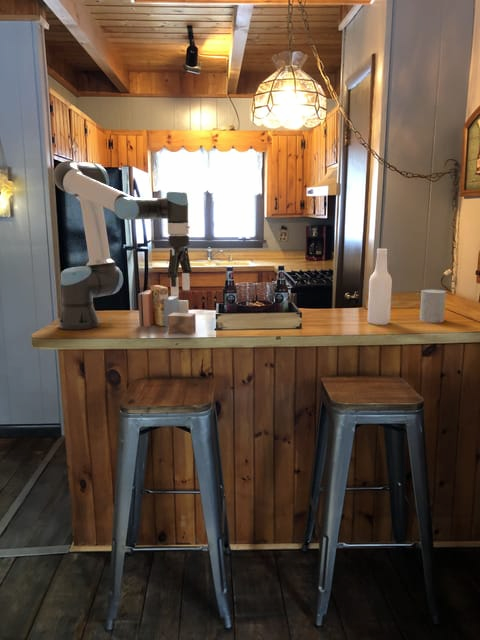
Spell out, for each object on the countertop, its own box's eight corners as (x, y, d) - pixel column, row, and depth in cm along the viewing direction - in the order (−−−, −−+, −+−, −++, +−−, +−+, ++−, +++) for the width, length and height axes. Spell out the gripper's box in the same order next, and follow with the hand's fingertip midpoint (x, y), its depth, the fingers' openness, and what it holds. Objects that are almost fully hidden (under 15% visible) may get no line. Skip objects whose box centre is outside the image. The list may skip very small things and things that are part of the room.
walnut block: (168, 333, 193) (167, 315, 192) (173, 330, 199) (172, 312, 197) (191, 334, 191) (190, 316, 190) (195, 331, 197) (195, 313, 196)
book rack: (139, 326, 206) (138, 294, 203) (150, 320, 217) (148, 289, 214) (180, 327, 202) (179, 295, 200) (188, 321, 213) (187, 290, 211)
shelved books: (143, 326, 206) (142, 294, 203) (151, 321, 215) (150, 290, 212) (172, 327, 204) (171, 294, 201) (179, 322, 212) (178, 291, 209)
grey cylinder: (444, 323, 208) (446, 293, 205) (419, 321, 211) (421, 292, 209) (443, 318, 217) (445, 289, 214) (419, 317, 220) (421, 288, 217)
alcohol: (392, 324, 206) (397, 249, 199) (370, 325, 205) (374, 249, 199) (385, 320, 214) (389, 247, 208) (364, 320, 214) (367, 248, 207)
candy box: (170, 325, 207) (168, 287, 203) (160, 326, 204) (158, 288, 201) (160, 321, 214) (159, 284, 211) (151, 322, 212) (149, 285, 208)
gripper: (177, 236, 175) (179, 298, 179) (197, 233, 199) (199, 288, 203) (156, 236, 176) (159, 297, 181) (179, 233, 200) (181, 287, 204)
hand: (180, 292), depth 192 cm, fingers open, 13 cm apart
